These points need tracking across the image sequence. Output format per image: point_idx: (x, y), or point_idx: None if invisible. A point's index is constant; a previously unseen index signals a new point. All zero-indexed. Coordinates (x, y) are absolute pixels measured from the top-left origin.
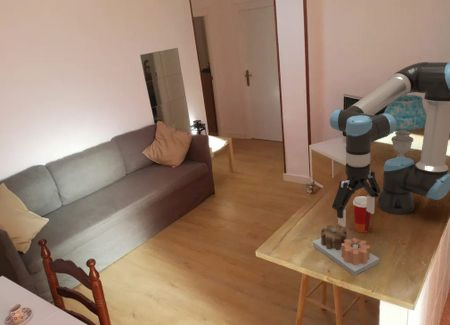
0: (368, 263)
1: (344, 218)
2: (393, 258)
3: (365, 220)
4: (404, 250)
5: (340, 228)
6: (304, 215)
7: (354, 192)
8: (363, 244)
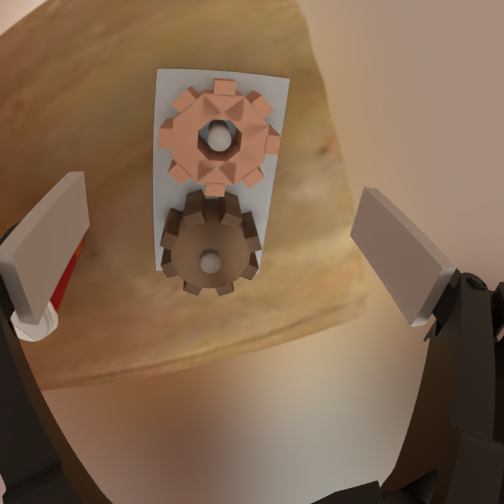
0: (213, 72)
1: (408, 221)
2: (100, 59)
3: None
4: (41, 75)
5: (163, 260)
6: (165, 361)
7: (466, 441)
8: (184, 124)
